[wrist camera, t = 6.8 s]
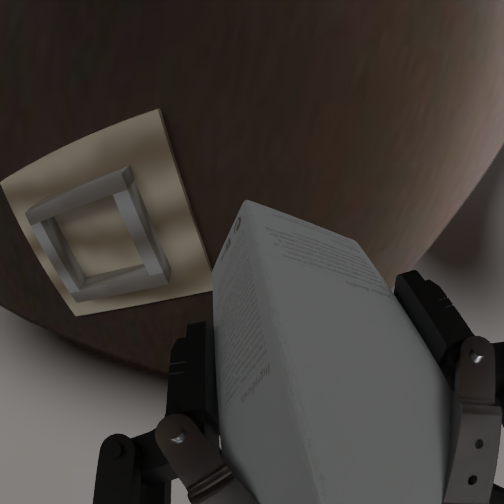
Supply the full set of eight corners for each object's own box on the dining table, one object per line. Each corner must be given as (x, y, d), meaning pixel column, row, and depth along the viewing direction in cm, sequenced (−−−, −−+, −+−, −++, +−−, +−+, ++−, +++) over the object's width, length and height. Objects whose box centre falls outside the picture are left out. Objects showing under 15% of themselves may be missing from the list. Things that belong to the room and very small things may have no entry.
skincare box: (209, 272, 14) (216, 562, 4) (246, 189, 12) (318, 573, 2) (319, 301, 16) (388, 526, 6) (364, 235, 14) (497, 478, 4)
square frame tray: (4, 179, 24) (-13, 191, 21) (160, 108, 23) (151, 113, 20) (77, 311, 35) (70, 329, 32) (217, 283, 34) (217, 304, 31)
